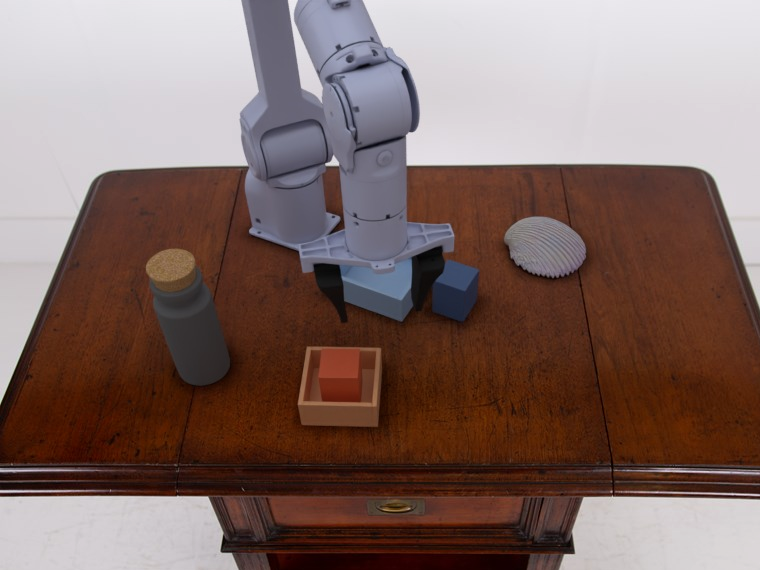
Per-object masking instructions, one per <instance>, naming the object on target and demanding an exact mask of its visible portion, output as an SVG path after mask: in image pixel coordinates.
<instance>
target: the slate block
mask: <svg viewBox="0 0 760 570" xmlns="http://www.w3.org/2000/svg"><path fill="white" fill-rule="evenodd" d="M479 277H480V268H479V269H478V268H475V267H474V266H469V265H466V264H464V263H461V262H457V261H455V260H452V259H449V258H448V259H446V261H445V268H444V272H443V273H442V274H441V275H440V276H439V277H438V278H437V280H436V281H435V282H434V284H433V285H432V305H431V306H432V309H431V310H432V313H435V314H437V315H441V316H443V317H447V318H449V319H451V320H454V321H455V320H456V321H458V322H461V323H464V321H465V320H466V318H467V317H468V315H469V314H470V312H471V310H472V309H473V307H474V306H475V305H476V304H477V303H476V302H477V301H478V289H479Z"/></svg>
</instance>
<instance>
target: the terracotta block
mask: <svg viewBox="0 0 760 570" xmlns="http://www.w3.org/2000/svg"><path fill="white" fill-rule="evenodd" d="M318 379H319V385H320V392H321V398H322V402H359V403H361V396H362V382H363V378H362V366H361V354H360V349H333V348H322V350H321V359H320V368H319V376H318Z"/></svg>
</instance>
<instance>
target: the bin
mask: <svg viewBox="0 0 760 570" xmlns="http://www.w3.org/2000/svg"><path fill="white" fill-rule="evenodd" d="M340 269H341V276H342V281H343V285H344V303H348V304H350V305H354V306H356V307H359V308H361V309H362V308H363V309H365V310H368V311H370V312H373V313H375V314H378V315H381V316H384V317H387V318H390V319H392V320H395V321H398V322H401V323H402V322H404V320H405V318H406V317H407V315H409V313H410V311H411V310H412V308H414V306H413V302H412V299H411V280H412V260H411V257H410V258H408V259H406V260H403V261H401V262H398V263H396V264H395V270H394V271H393V272H391V273H384V274H374V273H373V272H372V269H371V268H369V267H358V266H348V265H340Z"/></svg>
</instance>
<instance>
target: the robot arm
mask: <svg viewBox="0 0 760 570" xmlns="http://www.w3.org/2000/svg"><path fill="white" fill-rule="evenodd" d="M240 1H241V6H242V12H243V16H244V22H245V27H246V33H247V37H248V38H247V39H248V42H249V48H250V52H251V58H252V62H253V68H254V74H255V80H256V84H257V90H258V92H257V94H256V95H254V97H253V98H252V99H251V100H250V101H249V102H248V103H246V105H245V106H244V107H243V108H242V110H241V111H240V112H239V125H240V131H241V133H240V141H241V146H242V151H243V154H244V157H245V161H246V163H247V166H248V169H247V171H246V175H245V180H244V194H245V198H246V204H247V208H248V212H249V218H250V221H251V228H250V229H249V230H248V232H249V235H251V236H254V237H256V238H258V239H259V238H260V239H262V240H265V241H268V242H272V243H274V244H277V245H280V246H282V247H286V248H289V249H291V250H295V251H296V252H298V253H299V260H300V265H301V271H302V274H308V273H314V278H315V283H316V286H317V288H318V289H319V291H320V292H321V293H322V294H324V295H325V296H326V297H327V299H329V301H330V302H331V304H332V305H333V306H334V308H335V310H336V312H337V314H338V317H339V320H340V323H341V324H346V323H349V318H348V312H347V308H346V302H345V301H344V285H343V281H342V276H341V269H340V265H348V266H358V267H369V268H371V269H372V272H373V273H374V274H384V273H391V272H393V271H394V270H395V264H396V263H398V262H401V261H403V260H406V259H408V258H410V257H411V260H412V280H411V299H412V302H413V309H414V312H415V313H417V312H422V311H423V308H424V305H425V302H426V298H427V297H428V295H429V292H430V290H431V288H433V284H434V282H435V281H436V280H437V278H438V277H439V276H440V275H441V274H442V273H443V272H444V268H445V263H446V261H445V258H444V255H443V253H444V254H447V253H448V254H449V253H453V252H455V236H456V235H455V233H454V230H453V227H452V225H451V223H449V222H448V223H424V222H411V221H408V180H407V179H408V175H407V174H408V172H407V171H408V169H407V168H408V167H407V165H408V163H407V161H408V159H407V157H408V156H407V136H408V134H409V133H415V132H416V131H417V129H418V127H419V124H420V119H421V118H420V117H421V115H420V114H421V111H420V110H421V109H420V99H419V95H418V90H417V87H416V82H415V80H414V78H413V74H412V73H411V70H410V68H409V66H408V64H407V62H405V60H404V59H402V58H401V57H399V56H397V55H396V53H395V51H394V49H393V47H392V48H391V47H390V46H388V47H385V46H384V44H383V42H382V41H381V37H380V35H379V34H378V31H377V29H376V26H375V25H374V22H373V20H372V18H371V15H370V14H369V10H368V9H367V7H366V4H365V3H364V0H297V1H296V4H295V7H294V10H293V22H294V25H295V26H296V29H297V31H298V34H299V36H300V38H301V41H302V42H303V45H304V47H305V49H306V52H307V55H308V56H309V59H310V62H311V64H312V66H313V69H314V71H315V73H316V75H317V77H318V80H319V82H320V84H321V87H322V90H321V91H322V92H321V100H320V98H319V97H318V96H316V95H315V94H314V93H313V92H310V91H308V90H306V89H304V88H302V85H301V84H302V83H301V78H300V77H301V76H300V72H299V65H298V64H299V63H298V57H297V52H296V51H297V50H296V44H295V37H294V31H293V24H292V18H291V11H290V3H289V0H240ZM333 157H334V158H335V159H336V161H337V162H338V166H339V176H340V177H339V179H340V190H341V191H340V192H341V201H342V212H343V222H344V228H343V229H341V230H338V231H336V232H333V230H334V229H335V228H336V226H337V225H338V224H339V223H340V222H341V221H342V220H341V216H340V215H337V214H334V213H331V212H327V207H326V206H327V205H326V197H325V196H326V195H325V188H324V179H323V174H324V173H326V172H327V165H326V164H329V163H330V162H332V160H333ZM331 232H333V233H331Z"/></svg>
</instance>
